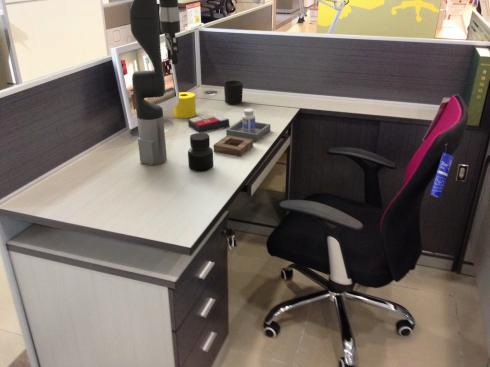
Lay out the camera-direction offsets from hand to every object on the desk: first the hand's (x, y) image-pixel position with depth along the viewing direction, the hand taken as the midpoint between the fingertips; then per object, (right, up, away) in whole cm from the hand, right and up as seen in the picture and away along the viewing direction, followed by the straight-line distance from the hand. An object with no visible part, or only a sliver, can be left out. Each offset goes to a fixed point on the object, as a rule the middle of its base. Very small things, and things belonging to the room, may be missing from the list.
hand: (172, 61), depth 189 cm
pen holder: (+23, -7, +52) cm, 58 cm away
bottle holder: (+24, -35, -3) cm, 43 cm away
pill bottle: (+30, -27, +12) cm, 42 cm away
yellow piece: (0, -16, +35) cm, 39 cm away
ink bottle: (+13, -43, -18) cm, 48 cm away
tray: (+30, -27, +12) cm, 43 cm away
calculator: (+13, -24, +21) cm, 34 cm away
